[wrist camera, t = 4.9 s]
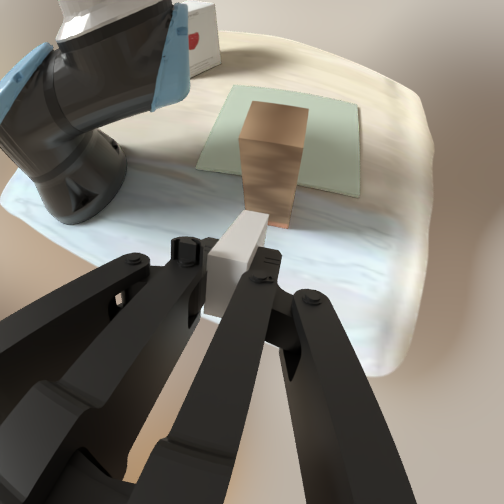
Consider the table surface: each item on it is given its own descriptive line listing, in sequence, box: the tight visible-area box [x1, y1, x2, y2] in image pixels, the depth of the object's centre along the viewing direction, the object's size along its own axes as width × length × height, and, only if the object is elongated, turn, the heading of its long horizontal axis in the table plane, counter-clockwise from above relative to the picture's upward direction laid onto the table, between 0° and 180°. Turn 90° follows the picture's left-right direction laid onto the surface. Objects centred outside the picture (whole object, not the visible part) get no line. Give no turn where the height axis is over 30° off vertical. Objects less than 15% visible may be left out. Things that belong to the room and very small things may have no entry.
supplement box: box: [180, 0, 221, 78], centre depth 40 cm, size 9×9×15 cm
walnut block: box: [238, 101, 309, 229], centre depth 27 cm, size 5×5×14 cm
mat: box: [196, 85, 360, 198], centre depth 38 cm, size 22×20×1 cm
